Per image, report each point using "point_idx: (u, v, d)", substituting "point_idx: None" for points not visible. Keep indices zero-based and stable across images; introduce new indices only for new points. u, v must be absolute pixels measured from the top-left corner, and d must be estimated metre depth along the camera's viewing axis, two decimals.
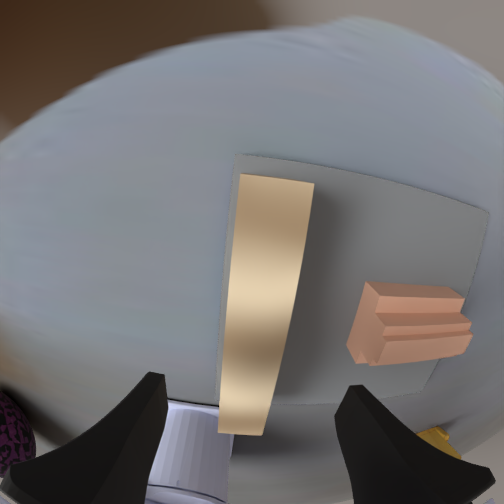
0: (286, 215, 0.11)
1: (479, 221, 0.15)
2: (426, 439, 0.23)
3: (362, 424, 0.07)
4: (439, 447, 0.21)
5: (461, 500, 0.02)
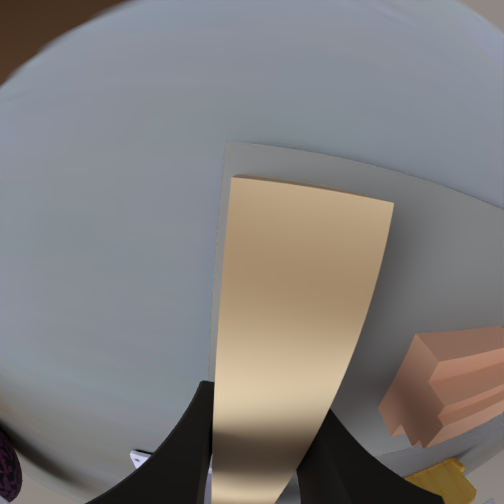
0: (333, 271, 0.05)
1: None
2: (441, 472, 0.17)
3: None
4: (454, 481, 0.15)
5: None
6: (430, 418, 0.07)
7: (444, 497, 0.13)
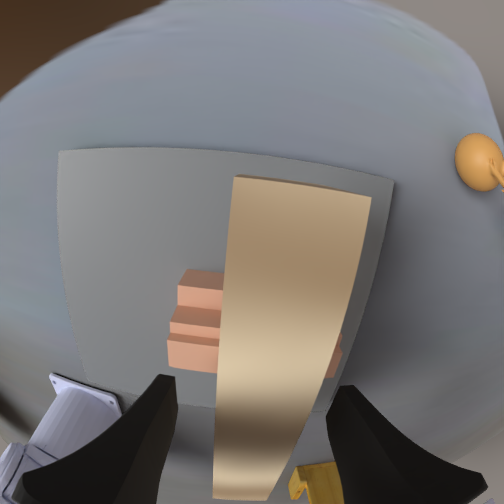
0: (320, 255, 0.06)
1: (374, 192, 0.14)
2: None
3: (352, 425, 0.07)
4: None
5: None
6: None
7: None
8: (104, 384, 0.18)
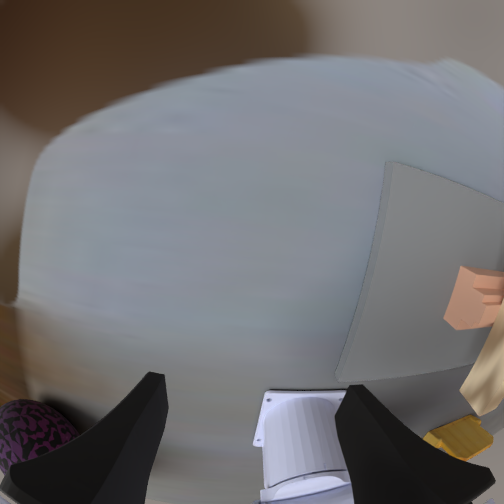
0: None
1: None
2: (463, 425, 0.25)
3: (362, 424, 0.07)
4: (475, 430, 0.22)
5: (461, 500, 0.02)
6: (478, 305, 0.15)
7: (470, 441, 0.21)
8: (357, 379, 0.20)
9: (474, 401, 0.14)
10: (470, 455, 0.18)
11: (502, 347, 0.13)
